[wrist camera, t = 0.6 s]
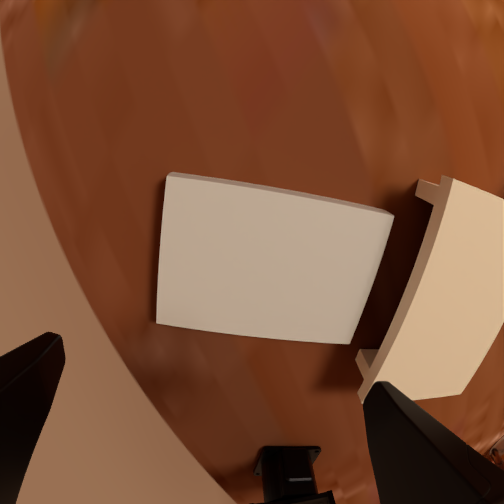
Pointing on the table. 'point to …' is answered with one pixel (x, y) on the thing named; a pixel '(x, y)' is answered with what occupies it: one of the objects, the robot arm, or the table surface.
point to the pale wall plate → (265, 260)
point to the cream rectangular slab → (445, 297)
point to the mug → (498, 453)
